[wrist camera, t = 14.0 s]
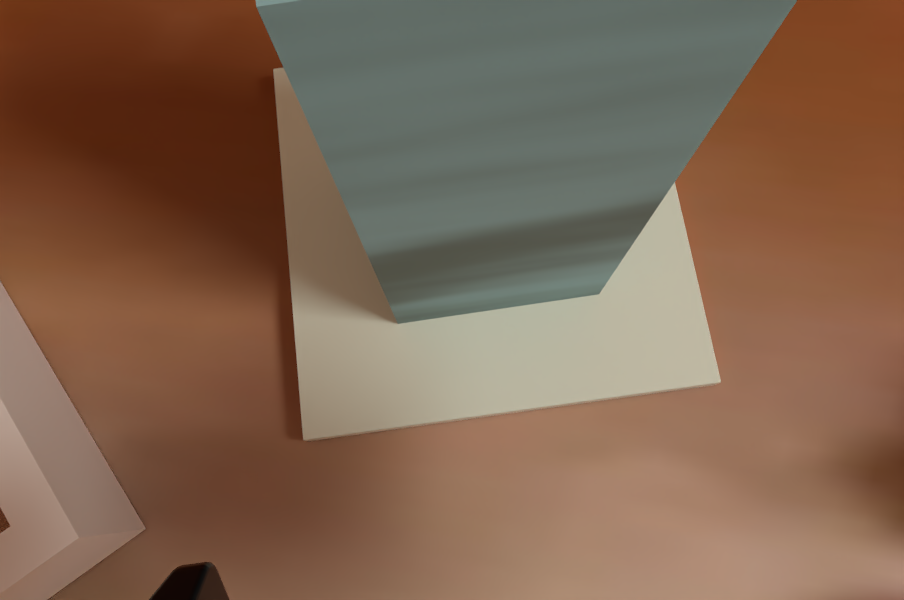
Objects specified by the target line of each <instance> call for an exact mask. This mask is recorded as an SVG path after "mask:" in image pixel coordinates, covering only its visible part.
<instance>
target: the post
mask: <svg viewBox="0 0 904 600" xmlns="http://www.w3.org/2000/svg"><path fill="white" fill-rule="evenodd" d="M796 1H797V0H256V7H257V9H258V11H259V14H260V16H261V18H262V20H263V23H264V25H265V27H266V29H267V32H268V34H269V36H270V38H271V41H272V43H273V45H274V47H275V49H276V52H277V54H278V56H279V58H280V61H281V63H282V65H283V67H284V70H285V72H286V74H287V76H288V79H289V81H290V83H291V85H292V88H293V90H294V92H295V94H296V97H297V99H298V101H299V103H300V106H301V108H302V110H303V112H304V115H305V117H306V119H307V121H308V124H309V126H310V128H311V130H312V132H313V135H314V137H315V139H316V141H317V144H318V146H319V148H320V150H321V153H322V155H323V157H324V159H325V162H326V164H327V166H328V168H329V171H330V173H331V175H332V177H333V180H334V182H335V184H336V186H337V189H338V191H339V193H340V195H341V198H342V200H343V202H344V204H345V207H346V209H347V211H348V213H349V216H350V218H351V220H352V222H353V224H354V227H355V229H356V231H357V233H358V236H359V238H360V240H361V242H362V245H363V247H364V249H365V251H366V254H367V256H368V258H369V260H370V263H371V265H372V267H373V269H374V272H375V274H376V276H377V278H378V281H379V283H380V285H381V287H382V290H383V292H384V294H385V296H386V299H387V301H388V303H389V305H390V307H391V310H392V312H393V314H394V316H395V319H396V321H397V323H398V324H401V323H408V322H415V321H421V320H428V319H435V318H442V317H449V316H455V315H462V314H469V313H476V312H483V311H489V310H496V309H503V308H510V307H517V306H523V305H530V304H537V303H544V302H551V301H557V300H564V299H571V298H578V297H584V296H591V295H598V294H600V292H601V291H602V289H603V288H604V286H605V285H606V283H607V282H608V280H609V279H610V277H611V276H612V274H613V273H614V271H615V270H616V268H617V267H618V265H619V264H620V262H621V261H622V259H623V258H624V256H625V255H626V254H627V252H628V251H629V249H630V248H631V246H632V245H633V243H634V242H635V240H636V239H637V237H638V236H639V234H640V233H641V231H642V230H643V228H644V227H645V225H646V224H647V222H648V221H649V219H650V218H651V216H652V215H653V213H654V212H655V210H656V209H657V207H658V206H659V205H660V203H661V202H662V200H663V199H664V197H665V196H666V194H667V193H668V191H669V190H670V188H671V187H672V185H673V184H674V182H675V181H676V179H677V178H678V176H679V175H680V173H681V172H682V170H683V169H684V167H685V166H686V164H687V163H688V161H689V160H690V159H691V157H692V156H693V154H694V153H695V151H696V150H697V148H698V147H699V145H700V144H701V142H702V141H703V139H704V138H705V136H706V135H707V133H708V132H709V130H710V129H711V127H712V126H713V124H714V123H715V121H716V120H717V118H718V117H719V115H720V114H721V112H722V111H723V110H724V108H725V107H726V105H727V104H728V102H729V101H730V99H731V98H732V96H733V95H734V93H735V92H736V90H737V89H738V87H739V86H740V84H741V83H742V81H743V80H744V78H745V77H746V75H747V74H748V72H749V71H750V69H751V68H752V66H753V65H754V64H755V62H756V61H757V59H758V58H759V56H760V55H761V53H762V52H763V50H764V49H765V47H766V46H767V44H768V43H769V41H770V40H771V38H772V37H773V35H774V34H775V32H776V31H777V29H778V28H779V26H780V25H781V23H782V22H783V20H784V19H785V17H786V16H787V15H788V13H789V12H790V10H791V9H792V7H793V6H794V4H795V3H796Z"/></svg>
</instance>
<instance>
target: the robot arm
mask: <svg viewBox="0 0 904 600" xmlns="http://www.w3.org/2000/svg"><path fill="white" fill-rule="evenodd" d="M149 600H229V598H228V595H227V593H226V590H225V588H224V586H223V583H222V581H221V578H220V576H219V574H218V571H217V569H216V567H215V566H214V565H213V564H212V563H210V562H202V563H195V564H188V565H182V566H179V567H177V568H176V569H175V570H173V571H172V572H171V574H170V575H169V576H168V577H167V578H166V580H165V581H164V582H163V583H162V584H161V586H160V587H159V588H158V589H157V590H156V592H155V593H154V594H153V595H152V596H151V598H150V599H149Z"/></svg>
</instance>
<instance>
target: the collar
mask: <svg viewBox="0 0 904 600" xmlns="http://www.w3.org/2000/svg"><path fill="white" fill-rule="evenodd" d="M0 508H1V509H2V511H3V513H4V515H5V517H6V519H7V521H8V522H9V524H10V527H9V528H7V529H6V530H4V531H3V532H1V533H0V600H47V599H49V598H50V597H52V596H53V595H54V594H56V593H57V592H59V591H60V590H61V589H63V588H64V587H66V586H67V585H68V584H70V583H71V582H73V581H74V580H75V579H77V578H78V577H79V576H81V575H82V574H84V573H85V572H86V571H88V570H89V569H91V568H92V567H93V566H95V565H96V564H98V563H99V562H100V561H102V560H103V559H105V558H106V557H107V556H109V555H110V554H112V553H113V552H114V551H116V550H117V549H119V548H120V547H121V546H123V545H124V544H126V543H127V542H128V541H130V540H131V539H133V538H134V537H135V536H137V535H138V534H139V533H141V532H142V531H144V530H145V529H146V528H145V526H144V525H143V523H142V521H141V520H140V518H139V516H138V515H137V513H136V511H135V509H134V508H133V506H132V504H131V503H130V501H129V499H128V498H127V496H126V494H125V492H124V491H123V489H122V487H121V486H120V484H119V482H118V481H117V479H116V477H115V475H114V474H113V472H112V470H111V469H110V467H109V465H108V464H107V462H106V460H105V458H104V457H103V455H102V453H101V452H100V450H99V448H98V446H97V445H96V443H95V441H94V440H93V438H92V436H91V435H90V433H89V431H88V429H87V428H86V426H85V424H84V423H83V421H82V419H81V418H80V416H79V414H78V412H77V411H76V409H75V407H74V406H73V404H72V402H71V401H70V399H69V397H68V395H67V394H66V392H65V390H64V389H63V387H62V385H61V384H60V382H59V380H58V378H57V377H56V375H55V373H54V372H53V370H52V368H51V367H50V365H49V363H48V361H47V360H46V358H45V356H44V355H43V353H42V351H41V349H40V348H39V346H38V344H37V343H36V341H35V339H34V338H33V336H32V334H31V332H30V331H29V329H28V327H27V326H26V324H25V322H24V321H23V319H22V317H21V315H20V314H19V312H18V310H17V309H16V307H15V305H14V304H13V302H12V300H11V298H10V297H9V295H8V293H7V292H6V290H5V288H4V287H3V285H2V283H1V281H0Z"/></svg>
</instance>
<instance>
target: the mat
mask: <svg viewBox="0 0 904 600" xmlns="http://www.w3.org/2000/svg"><path fill="white" fill-rule="evenodd" d="M273 73H274V85H275V98H276V110H277V122H278V135H279V147H280V160H281V172H282V184H283V197H284V209H285V221H286V234H287V246H288V259H289V271H290V283H291V296H292V308H293V320H294V333H295V345H296V358H297V370H298V382H299V395H300V407H301V420H302V432H303V440H304V441H315V440H322V439H329V438H336V437H343V436H351V435H358V434H365V433H372V432H379V431H387V430H394V429H401V428H408V427H415V426H423V425H430V424H437V423H444V422H451V421H459V420H466V419H473V418H480V417H487V416H495V415H502V414H509V413H516V412H523V411H531V410H538V409H545V408H552V407H560V406H567V405H574V404H581V403H588V402H596V401H603V400H610V399H617V398H624V397H632V396H639V395H646V394H653V393H660V392H668V391H675V390H682V389H689V388H696V387H704V386H711V385H715V384H718V383H720V382H721V380H720V376H719V371H718V367H717V363H716V358H715V354H714V350H713V345H712V341H711V337H710V332H709V328H708V324H707V319H706V315H705V311H704V307H703V302H702V298H701V294H700V289H699V285H698V281H697V276H696V272H695V268H694V263H693V259H692V255H691V250H690V246H689V242H688V238H687V233H686V229H685V225H684V220H683V216H682V212H681V207H680V203H679V199H678V194H677V190H676V186H675V182H674V184H673V185H672V187H671V188H670V190H669V191H668V193H667V194H666V196H665V197H664V199H663V200H662V202H661V203H660V205H659V206H658V207H657V209H656V210H655V212H654V213H653V215H652V216H651V218H650V219H649V221H648V222H647V224H646V225H645V227H644V228H643V230H642V231H641V233H640V234H639V236H638V237H637V239H636V240H635V242H634V243H633V245H632V246H631V248H630V249H629V251H628V252H627V254H626V255H625V256H624V258H623V259H622V261H621V262H620V264H619V265H618V267H617V268H616V270H615V271H614V273H613V274H612V276H611V277H610V279H609V280H608V282H607V283H606V285H605V286H604V288H603V289H602V291H601V292H600V294H598V295H591V296H584V297H578V298H571V299H564V300H557V301H551V302H544V303H537V304H530V305H523V306H517V307H510V308H503V309H496V310H489V311H483V312H476V313H469V314H462V315H455V316H449V317H442V318H435V319H428V320H421V321H415V322H408V323H401V324H398V323H397V321H396V319H395V316H394V314H393V312H392V310H391V307H390V305H389V303H388V301H387V299H386V296H385V294H384V292H383V290H382V287H381V285H380V283H379V281H378V278H377V276H376V274H375V272H374V269H373V267H372V265H371V263H370V260H369V258H368V256H367V254H366V251H365V249H364V247H363V245H362V242H361V240H360V238H359V236H358V233H357V231H356V229H355V227H354V224H353V222H352V220H351V218H350V216H349V213H348V211H347V209H346V207H345V204H344V202H343V200H342V198H341V195H340V193H339V191H338V189H337V186H336V184H335V182H334V180H333V177H332V175H331V173H330V171H329V168H328V166H327V164H326V162H325V159H324V157H323V155H322V153H321V150H320V148H319V146H318V144H317V141H316V139H315V137H314V135H313V132H312V130H311V128H310V126H309V124H308V121H307V119H306V117H305V115H304V112H303V110H302V108H301V106H300V103H299V101H298V99H297V97H296V94H295V92H294V90H293V88H292V85H291V83H290V81H289V79H288V76H287V74H286V72H285V70H284V68H276V69H273Z"/></svg>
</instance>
